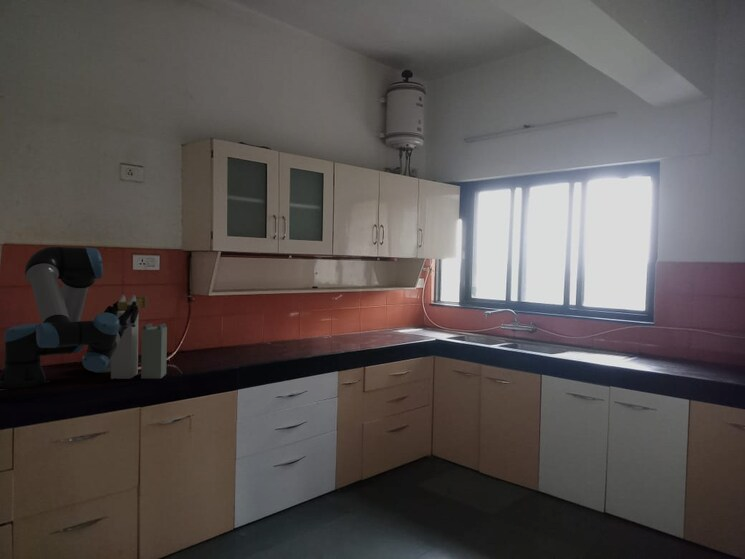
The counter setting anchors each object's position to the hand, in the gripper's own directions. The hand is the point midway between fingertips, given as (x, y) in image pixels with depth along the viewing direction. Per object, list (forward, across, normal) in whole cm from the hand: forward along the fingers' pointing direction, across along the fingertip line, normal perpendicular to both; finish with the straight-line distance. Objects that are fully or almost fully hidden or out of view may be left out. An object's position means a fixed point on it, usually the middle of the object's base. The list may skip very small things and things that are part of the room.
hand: (129, 297), depth 194 cm
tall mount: (+1, -8, -42) cm, 43 cm away
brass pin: (+1, 0, -6) cm, 6 cm away
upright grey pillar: (+1, +4, -42) cm, 42 cm away
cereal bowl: (+10, -21, -47) cm, 52 cm away
